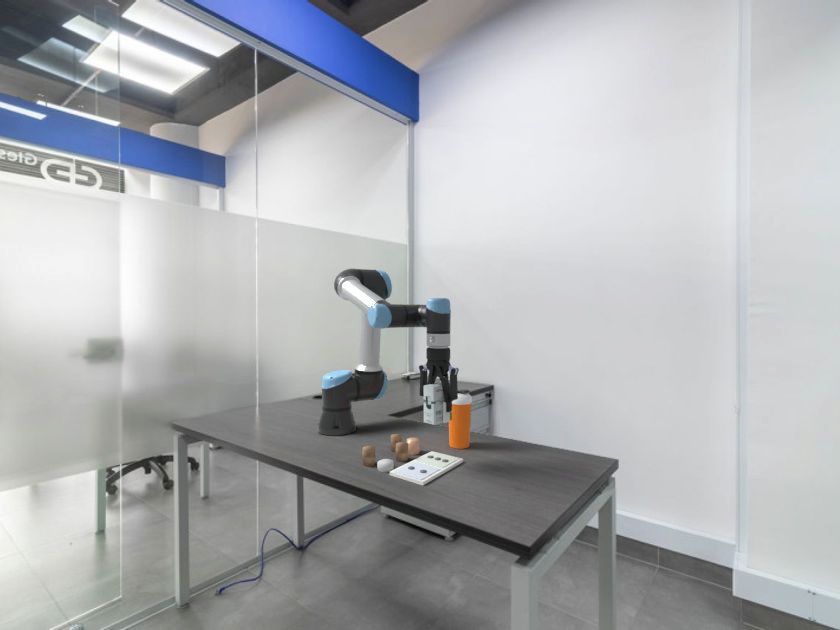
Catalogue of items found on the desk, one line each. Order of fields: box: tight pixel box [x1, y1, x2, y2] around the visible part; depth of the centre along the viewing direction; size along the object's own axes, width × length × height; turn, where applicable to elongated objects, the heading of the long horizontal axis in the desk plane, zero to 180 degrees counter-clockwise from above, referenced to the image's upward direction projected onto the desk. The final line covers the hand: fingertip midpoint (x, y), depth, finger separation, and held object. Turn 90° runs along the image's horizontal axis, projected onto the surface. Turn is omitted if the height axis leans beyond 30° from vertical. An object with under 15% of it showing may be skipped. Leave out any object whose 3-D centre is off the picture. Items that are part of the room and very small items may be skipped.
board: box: [389, 450, 464, 486], centre depth 127 cm, size 12×22×1 cm, turn 144°
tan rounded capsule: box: [361, 445, 376, 467], centre depth 130 cm, size 4×4×5 cm
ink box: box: [423, 381, 452, 426], centre depth 131 cm, size 9×5×12 cm, turn 135°
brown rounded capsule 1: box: [390, 433, 403, 453], centre depth 143 cm, size 4×4×5 cm
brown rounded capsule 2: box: [394, 441, 409, 463], centre depth 134 cm, size 4×4×5 cm
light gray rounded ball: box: [376, 458, 395, 473], centre depth 126 cm, size 5×5×2 cm
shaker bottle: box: [448, 388, 473, 450], centre depth 148 cm, size 9×9×20 cm
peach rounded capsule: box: [406, 436, 421, 456], centre depth 140 cm, size 4×4×4 cm
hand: (438, 420), depth 131 cm, fingers closed on ink box, 5 cm apart
